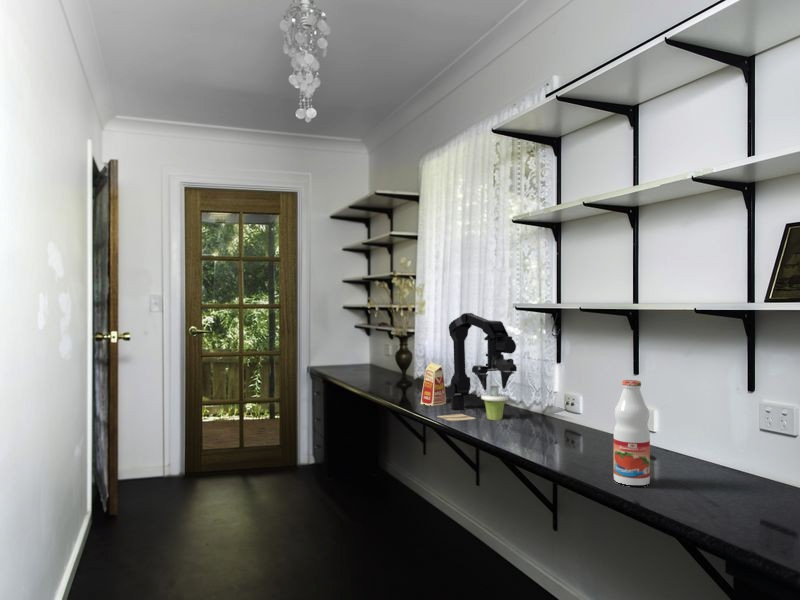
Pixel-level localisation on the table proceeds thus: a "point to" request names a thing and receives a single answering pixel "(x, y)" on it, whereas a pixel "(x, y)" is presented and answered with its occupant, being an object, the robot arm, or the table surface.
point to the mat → (456, 417)
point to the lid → (494, 395)
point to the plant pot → (494, 409)
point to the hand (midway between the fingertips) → (494, 389)
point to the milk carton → (433, 386)
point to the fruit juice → (631, 437)
